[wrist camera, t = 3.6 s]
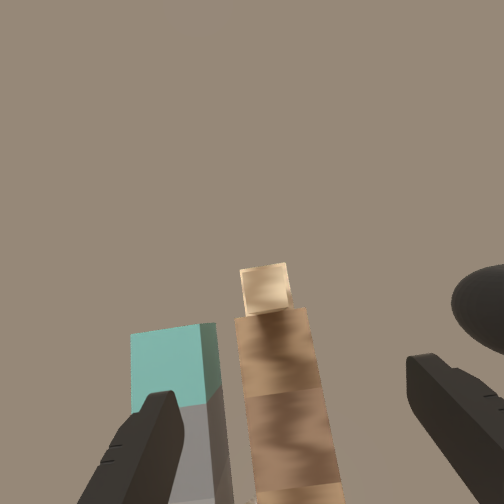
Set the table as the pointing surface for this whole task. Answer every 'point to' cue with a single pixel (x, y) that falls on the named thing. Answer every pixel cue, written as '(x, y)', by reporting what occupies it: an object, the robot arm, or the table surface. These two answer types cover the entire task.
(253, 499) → the table surface
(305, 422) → the walnut tower
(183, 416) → the gray teal square column
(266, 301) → the beige stepped block
